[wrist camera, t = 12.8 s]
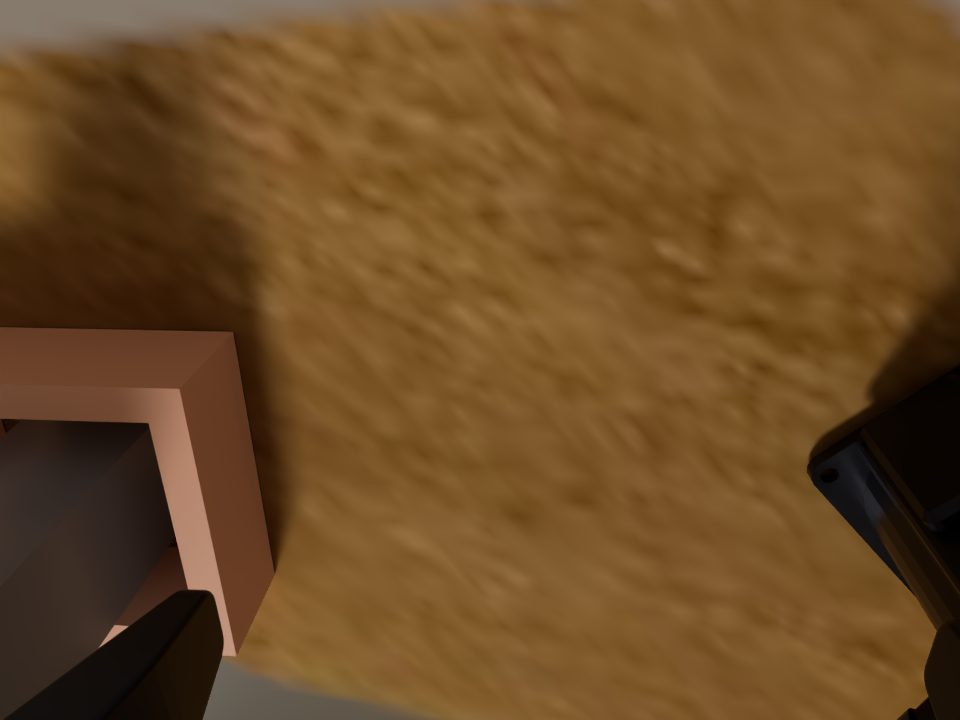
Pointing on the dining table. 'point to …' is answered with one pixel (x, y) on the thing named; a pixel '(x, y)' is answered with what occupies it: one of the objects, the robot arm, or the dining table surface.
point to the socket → (162, 447)
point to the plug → (72, 542)
